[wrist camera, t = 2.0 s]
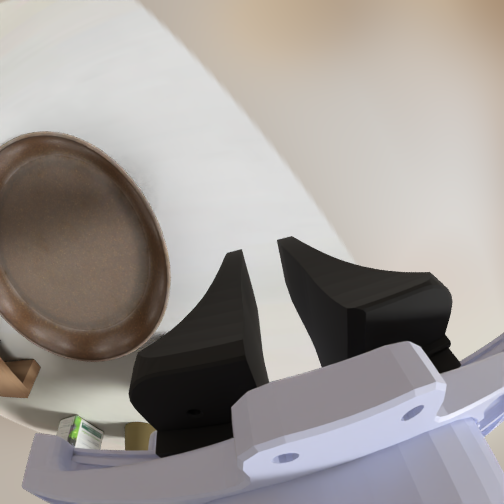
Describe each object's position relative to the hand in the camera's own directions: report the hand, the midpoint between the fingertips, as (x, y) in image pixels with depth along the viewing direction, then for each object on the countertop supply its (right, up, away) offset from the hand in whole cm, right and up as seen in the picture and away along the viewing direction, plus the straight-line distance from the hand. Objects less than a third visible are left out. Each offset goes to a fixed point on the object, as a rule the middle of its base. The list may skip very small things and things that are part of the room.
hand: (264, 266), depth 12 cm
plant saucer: (-17, +1, +9) cm, 19 cm away
